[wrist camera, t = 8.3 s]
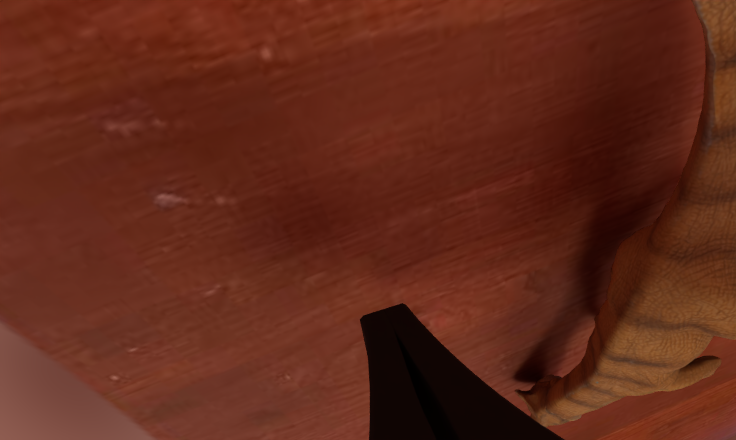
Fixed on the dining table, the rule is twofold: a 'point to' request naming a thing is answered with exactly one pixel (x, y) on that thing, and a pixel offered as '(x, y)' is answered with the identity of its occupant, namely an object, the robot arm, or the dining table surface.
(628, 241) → the dinosaur figurine
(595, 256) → the dining table surface
